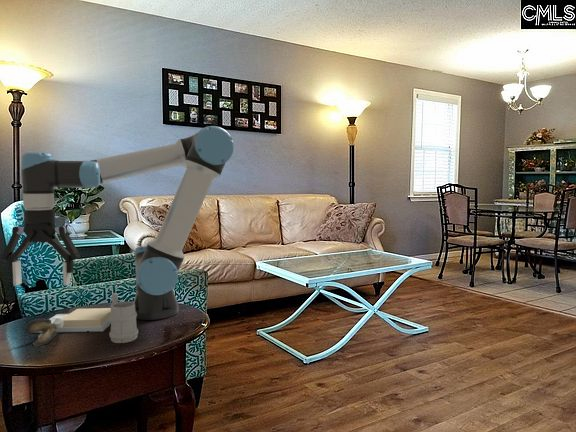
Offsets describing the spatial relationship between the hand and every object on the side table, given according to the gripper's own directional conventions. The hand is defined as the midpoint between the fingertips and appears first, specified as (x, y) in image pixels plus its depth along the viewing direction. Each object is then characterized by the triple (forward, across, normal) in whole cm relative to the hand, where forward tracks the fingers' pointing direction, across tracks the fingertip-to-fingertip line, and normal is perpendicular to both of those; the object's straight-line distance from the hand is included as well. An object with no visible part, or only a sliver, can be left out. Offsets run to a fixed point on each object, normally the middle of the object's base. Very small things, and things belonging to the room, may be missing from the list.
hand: (42, 284), depth 123 cm
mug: (+16, -21, 0) cm, 26 cm away
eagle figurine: (+16, -1, +1) cm, 16 cm away
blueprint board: (+16, -4, -12) cm, 20 cm away
